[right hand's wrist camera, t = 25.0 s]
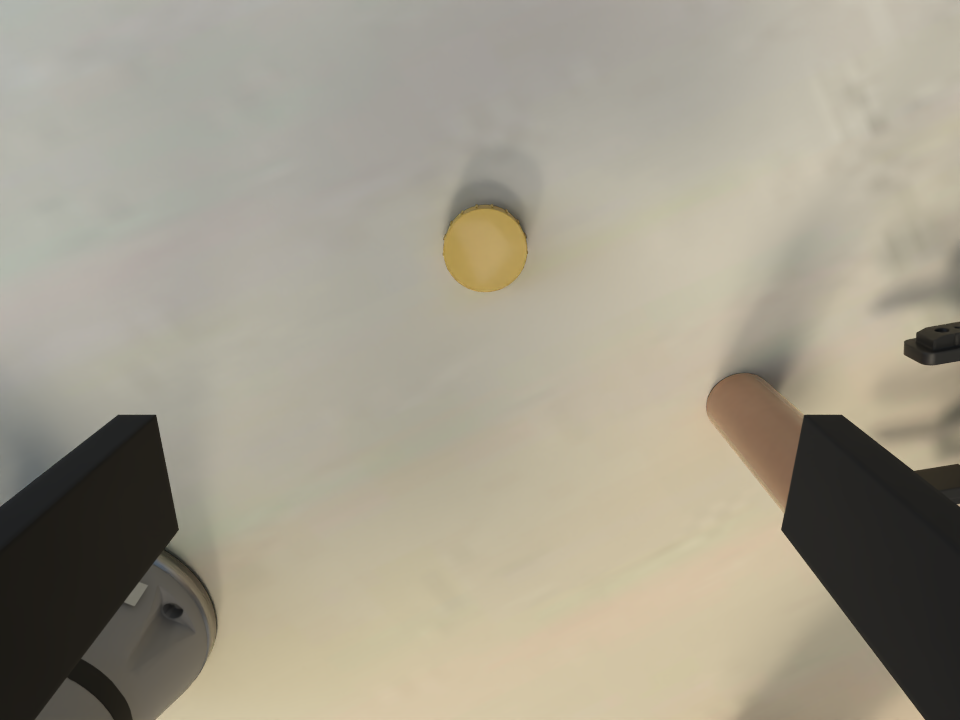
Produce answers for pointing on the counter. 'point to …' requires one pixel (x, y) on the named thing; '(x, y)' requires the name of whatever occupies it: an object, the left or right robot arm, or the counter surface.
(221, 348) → the counter surface
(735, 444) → the jar
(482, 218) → the lid
